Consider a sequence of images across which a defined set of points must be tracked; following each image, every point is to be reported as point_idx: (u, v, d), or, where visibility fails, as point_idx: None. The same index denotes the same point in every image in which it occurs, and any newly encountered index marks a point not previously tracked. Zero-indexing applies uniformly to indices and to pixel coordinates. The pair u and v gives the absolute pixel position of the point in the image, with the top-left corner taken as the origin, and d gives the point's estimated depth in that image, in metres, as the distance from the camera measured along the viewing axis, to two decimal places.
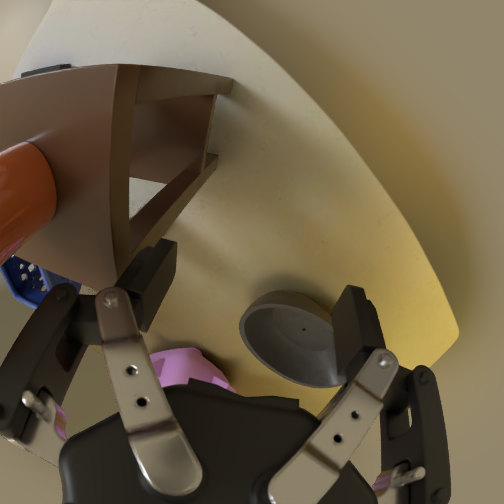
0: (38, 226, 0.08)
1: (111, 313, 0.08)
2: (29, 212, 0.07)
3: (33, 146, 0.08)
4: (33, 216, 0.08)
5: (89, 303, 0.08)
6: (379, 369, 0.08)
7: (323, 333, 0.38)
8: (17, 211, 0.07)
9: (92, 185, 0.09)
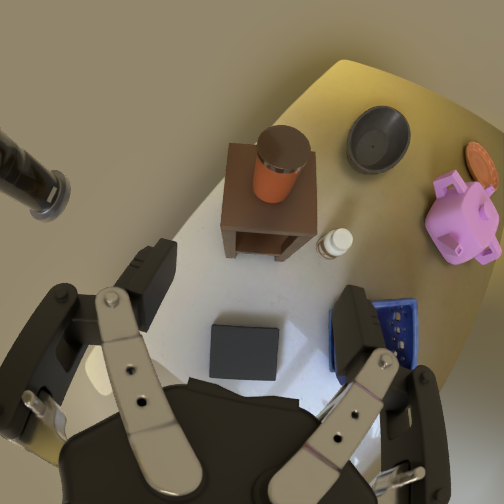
0: None
1: (111, 313, 0.08)
2: None
3: None
4: None
5: (89, 303, 0.08)
6: (379, 369, 0.08)
7: (371, 135, 0.52)
8: None
9: None
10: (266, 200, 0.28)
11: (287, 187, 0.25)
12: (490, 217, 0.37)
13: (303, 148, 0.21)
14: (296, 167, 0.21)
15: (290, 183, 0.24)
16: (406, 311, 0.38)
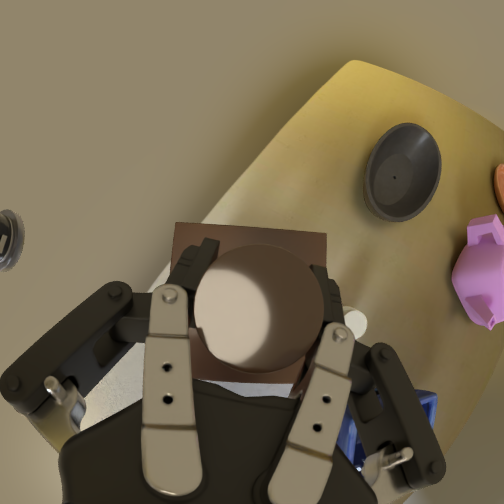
0: None
1: (172, 310, 0.08)
2: None
3: None
4: None
5: (142, 301, 0.09)
6: (331, 342, 0.09)
7: (392, 161, 0.40)
8: None
9: (242, 239, 0.17)
10: None
11: None
12: None
13: (306, 311, 0.09)
14: (285, 366, 0.09)
15: None
16: (422, 404, 0.26)
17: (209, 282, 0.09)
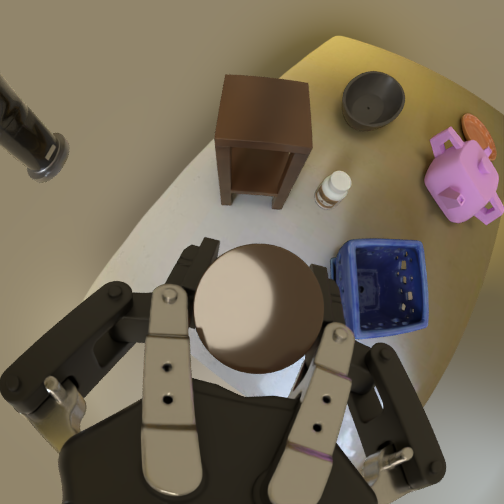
0: None
1: (172, 310, 0.08)
2: None
3: None
4: None
5: (142, 301, 0.09)
6: (331, 342, 0.09)
7: (366, 98, 0.50)
8: None
9: (262, 81, 0.27)
10: None
11: None
12: (489, 171, 0.35)
13: (306, 311, 0.09)
14: (285, 366, 0.09)
15: None
16: (412, 257, 0.36)
17: (209, 282, 0.09)
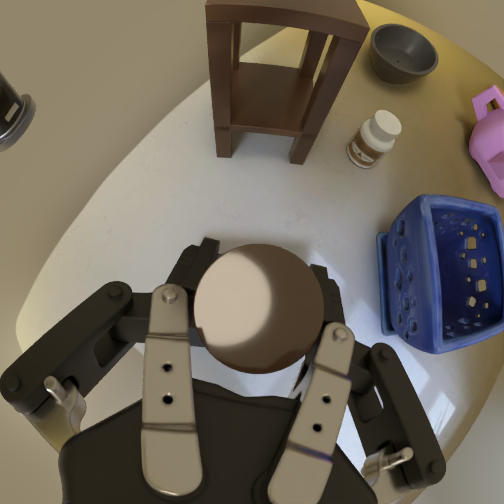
0: None
1: (172, 310, 0.08)
2: None
3: None
4: None
5: (142, 301, 0.09)
6: (331, 342, 0.09)
7: (394, 52, 0.35)
8: None
9: None
10: None
11: None
12: None
13: (306, 311, 0.09)
14: (285, 366, 0.09)
15: None
16: (485, 231, 0.21)
17: (209, 282, 0.09)
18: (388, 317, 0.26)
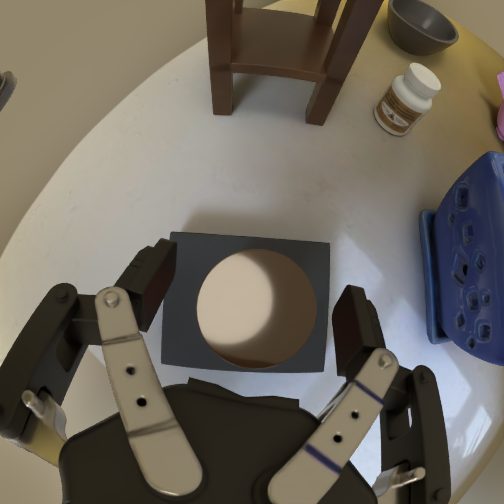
0: None
1: (111, 313, 0.08)
2: None
3: None
4: None
5: (89, 303, 0.08)
6: (379, 369, 0.08)
7: (411, 25, 0.27)
8: None
9: None
10: None
11: None
12: None
13: (300, 311, 0.10)
14: (281, 362, 0.09)
15: None
16: None
17: (210, 284, 0.10)
18: (436, 320, 0.18)
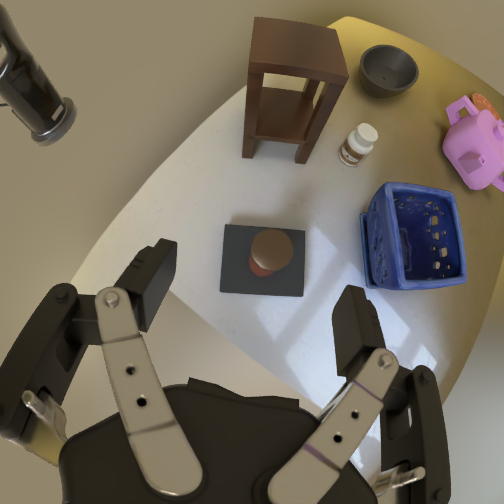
0: None
1: (111, 313, 0.08)
2: None
3: None
4: None
5: (89, 303, 0.08)
6: (379, 369, 0.08)
7: (381, 69, 0.46)
8: None
9: (292, 23, 0.23)
10: (259, 275, 0.35)
11: (275, 271, 0.32)
12: None
13: (287, 250, 0.28)
14: (280, 268, 0.28)
15: None
16: (444, 210, 0.32)
17: (256, 240, 0.28)
18: (370, 275, 0.37)
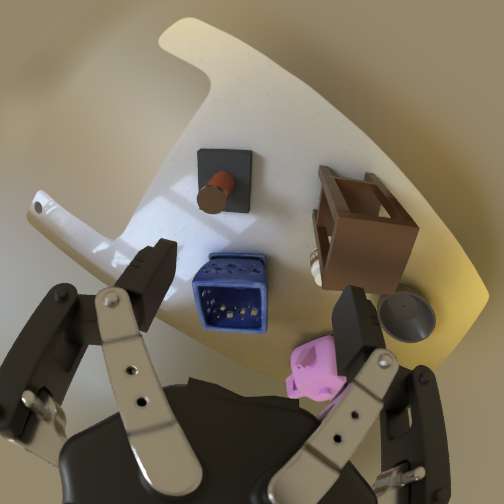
0: (231, 191, 0.45)
1: (111, 313, 0.08)
2: (233, 187, 0.44)
3: (227, 172, 0.44)
4: (232, 188, 0.44)
5: (89, 303, 0.08)
6: (379, 369, 0.08)
7: (413, 306, 0.57)
8: (232, 186, 0.43)
9: (402, 259, 0.29)
10: None
11: None
12: (319, 396, 0.58)
13: (211, 210, 0.40)
14: (199, 206, 0.40)
15: None
16: (256, 322, 0.53)
17: (216, 190, 0.38)
18: (218, 257, 0.55)
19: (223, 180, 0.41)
